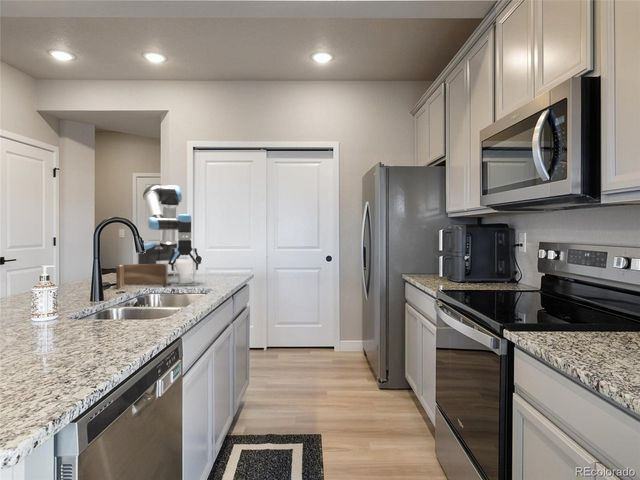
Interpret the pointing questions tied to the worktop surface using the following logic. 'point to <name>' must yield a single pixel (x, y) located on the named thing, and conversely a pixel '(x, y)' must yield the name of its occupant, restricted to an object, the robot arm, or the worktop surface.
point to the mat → (185, 284)
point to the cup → (184, 269)
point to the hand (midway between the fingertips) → (184, 275)
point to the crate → (141, 274)
